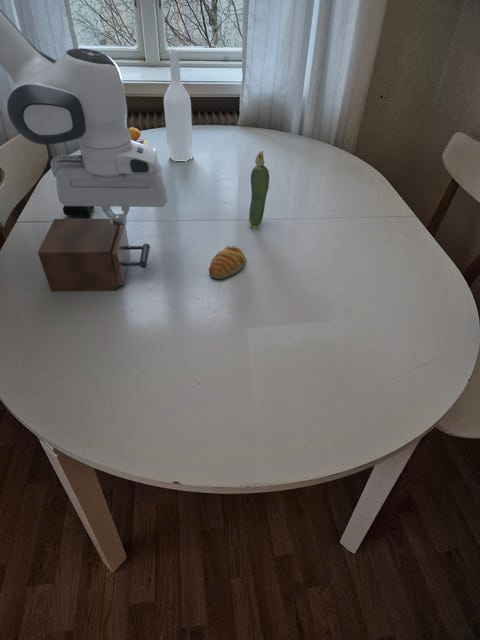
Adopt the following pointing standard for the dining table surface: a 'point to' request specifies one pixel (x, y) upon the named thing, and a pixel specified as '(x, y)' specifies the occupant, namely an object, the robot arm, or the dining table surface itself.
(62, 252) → the cabinet
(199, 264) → the dining table surface
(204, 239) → the dining table surface
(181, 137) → the bottle
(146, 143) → the cheeseburger
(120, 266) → the drawer
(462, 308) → the dining table surface
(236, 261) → the pastry
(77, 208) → the tape measure
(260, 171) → the vegetable
